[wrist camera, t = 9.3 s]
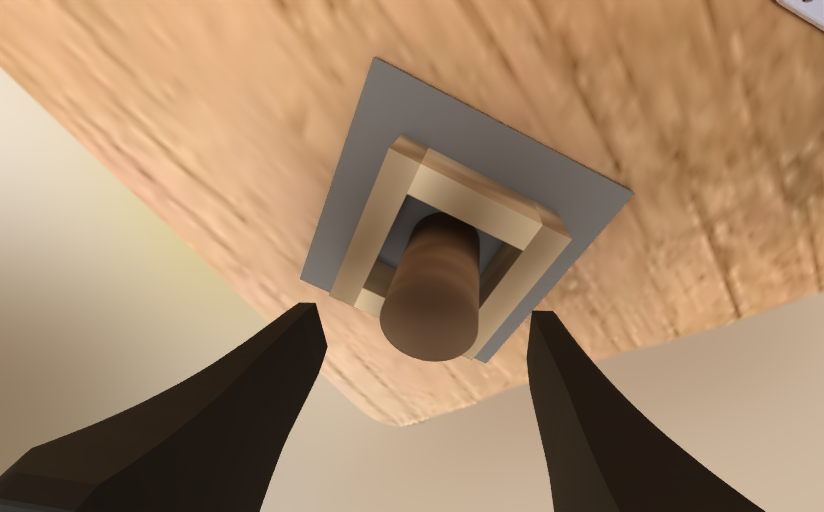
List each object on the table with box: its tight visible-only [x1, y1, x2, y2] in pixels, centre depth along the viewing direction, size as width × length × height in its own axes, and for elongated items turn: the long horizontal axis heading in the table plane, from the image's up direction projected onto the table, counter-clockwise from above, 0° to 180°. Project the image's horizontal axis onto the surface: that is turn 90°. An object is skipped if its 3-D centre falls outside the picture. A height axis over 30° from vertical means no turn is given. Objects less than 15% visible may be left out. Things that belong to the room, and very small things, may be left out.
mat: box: [300, 57, 634, 363], centre depth 20 cm, size 14×14×1 cm
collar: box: [329, 134, 572, 360], centre depth 19 cm, size 9×9×3 cm
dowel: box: [380, 212, 480, 362], centre depth 17 cm, size 4×4×7 cm
